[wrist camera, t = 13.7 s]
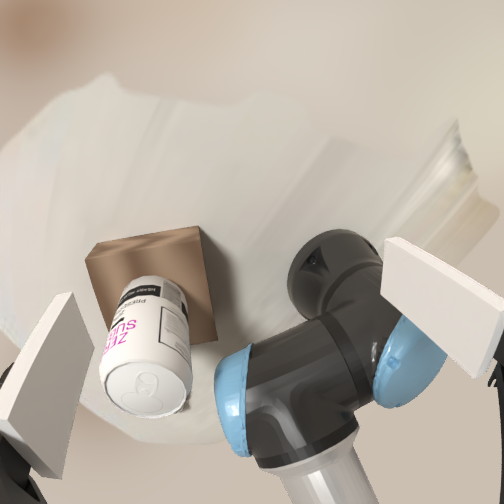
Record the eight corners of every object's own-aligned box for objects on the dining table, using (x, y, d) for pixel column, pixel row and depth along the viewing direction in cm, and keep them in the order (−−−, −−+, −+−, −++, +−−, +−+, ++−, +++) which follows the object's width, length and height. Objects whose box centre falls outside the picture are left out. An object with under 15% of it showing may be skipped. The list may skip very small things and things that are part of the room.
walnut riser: (198, 225, 40) (200, 239, 34) (213, 316, 45) (218, 340, 40) (97, 243, 38) (84, 259, 32) (123, 330, 43) (117, 354, 37)
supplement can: (178, 337, 38) (182, 428, 24) (116, 322, 36) (94, 410, 22) (195, 283, 36) (205, 368, 22) (127, 264, 33) (99, 343, 20)
